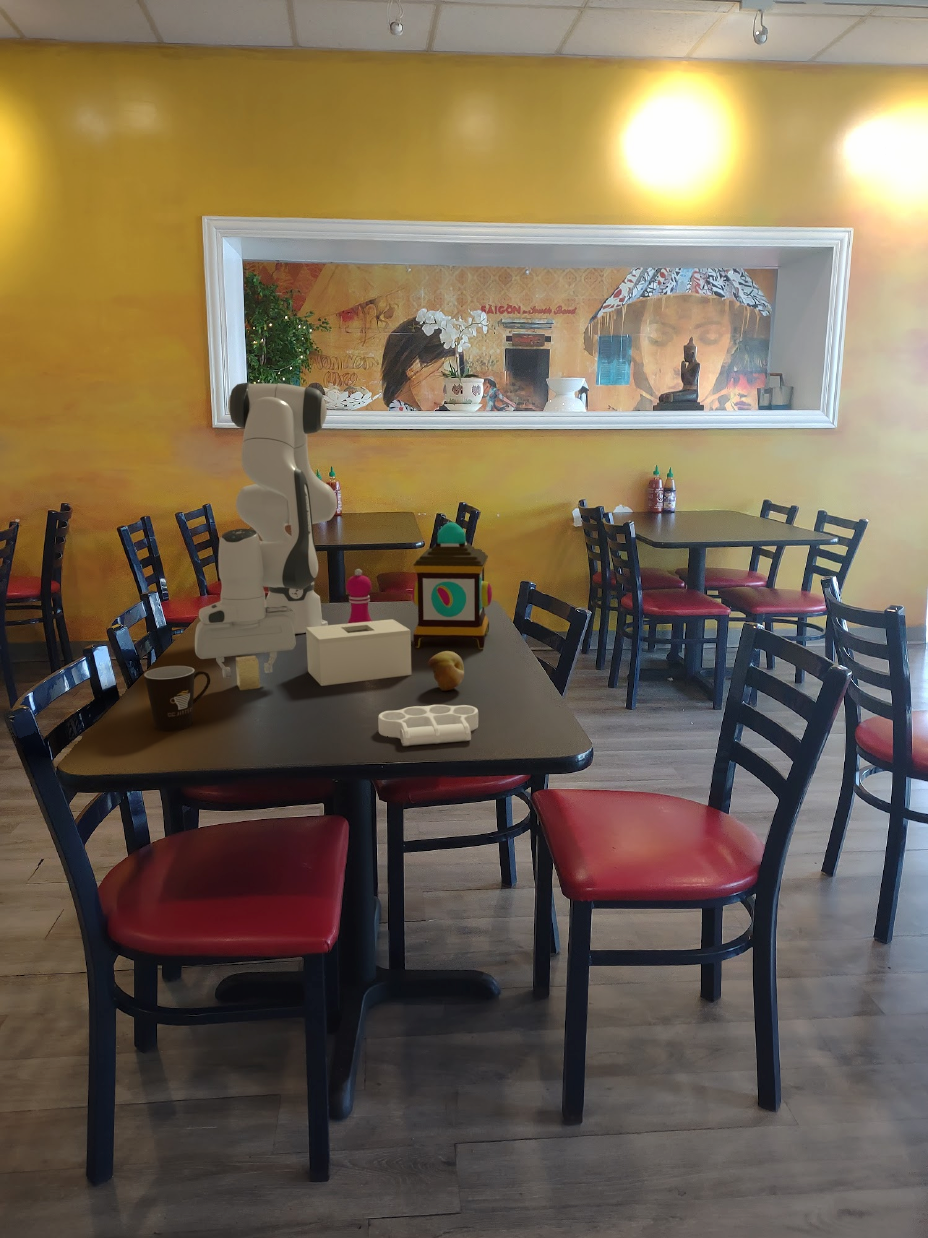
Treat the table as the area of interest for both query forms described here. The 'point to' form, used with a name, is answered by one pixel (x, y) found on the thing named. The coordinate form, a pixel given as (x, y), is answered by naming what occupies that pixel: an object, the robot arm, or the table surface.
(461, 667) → the fruit
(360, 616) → the pepper mill
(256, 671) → the yellow wooden block
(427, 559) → the decorative lantern
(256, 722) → the table surface
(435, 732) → the knuckle duster
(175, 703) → the coffee mug
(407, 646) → the coin box
